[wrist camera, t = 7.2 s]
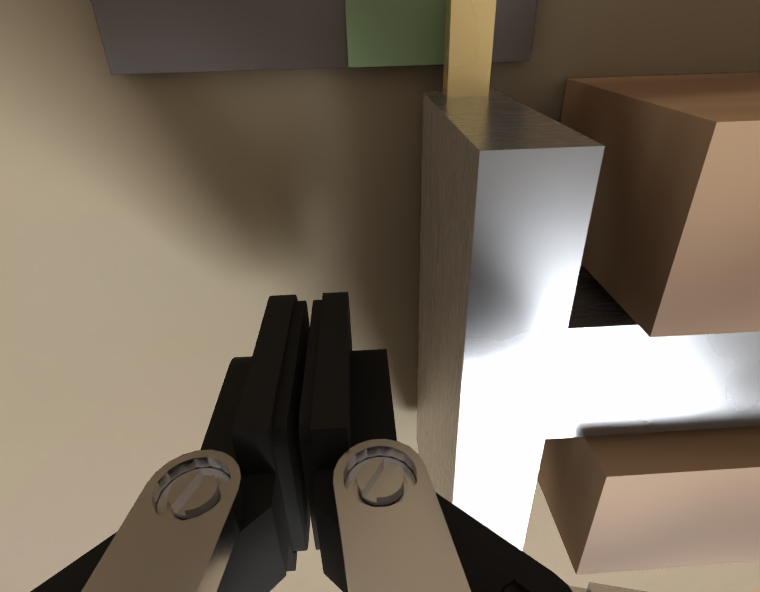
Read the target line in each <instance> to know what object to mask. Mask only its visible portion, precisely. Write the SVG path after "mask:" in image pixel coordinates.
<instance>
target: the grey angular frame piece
mask: <svg viewBox="0 0 760 592" xmlns="http://www.w3.org/2000/svg"><path fill="white" fill-rule="evenodd" d="M495 12H496V0H446V25H445V52H444V78H443V92H423V131H422V184H421V238H420V291H419V344H418V398H417V444H418V450H419V455H420V457H421V459H422V460H423V462H424V464H425V466H426V468H427V471H428V474H429V477H430V479H431V482H432V485H433V488H434V490H435V492H436V493H438V494H439V495H441V496H442V497H443V498H445V499H446V500H448V501H449V502H451V503H452V504H454V505H455V506H457V507H458V508H460V509H461V510H463V511H464V512H465V513H467V514H468V515H470V516H471V517H473V518H474V519H476V520H477V521H479V522H480V523H482V524H483V525H485V526H486V527H487V528H489V529H490V530H492V531H493V532H495V533H496V534H498V535H499V536H501V537H502V538H504V539H505V540H507V541H508V542H509V543H511V544H512V545H514V546H515V547H517V548H518V549H520V550H521V551H522V549H523V544H524V540H525V535H526V530H527V525H528V520H529V515H530V510H531V505H532V500H533V495H534V491H535V486H536V481H537V476H538V471H539V466H540V461H541V456H542V451H543V447H544V442H545V439H554V438H570V437H587V436H603V435H619V434H636V433H652V432H669V431H685V430H701V429H718V428H734V427H750V426H760V332H741V333H723V334H704V335H685V336H667V337H649V336H648V335H647V334H646V333H645V332H644V330H643V329H642V328H641V327H640V326H639V325H638V324H637V323H636V322H635V321H634V320H633V319H632V318H631V317H630V315H629V314H628V313H627V312H626V311H625V310H624V309H623V308H622V307H621V306H620V305H619V304H618V303H617V302H616V300H615V299H614V298H613V297H612V296H611V295H610V294H609V293H608V292H607V291H606V290H605V289H604V288H603V287H602V286H601V284H600V283H599V282H598V281H597V280H596V279H595V278H594V277H593V276H592V275H591V274H590V273H589V272H588V271H587V269H586V268H585V267H584V266H580V265H581V261H582V256H583V251H584V246H585V241H586V236H587V231H588V226H589V221H590V217H591V212H592V207H593V202H594V197H595V192H596V187H597V182H598V177H599V173H600V168H601V163H602V158H603V153H604V148H605V146H604V145H602V144H600V143H598V142H596V141H594V140H592V139H590V138H588V137H587V136H585V135H583V134H581V133H579V132H577V131H575V130H573V129H571V128H569V127H567V126H565V125H563V124H561V123H559V122H557V121H555V120H553V119H551V118H549V117H547V116H545V115H543V114H542V113H540V112H538V111H536V110H534V109H532V108H530V107H528V106H526V105H524V104H522V103H520V102H518V101H516V100H514V99H512V98H510V97H508V96H506V95H504V94H502V93H500V92H499V91H497V90H489V85H490V73H491V61H492V48H493V36H494V24H495Z"/></svg>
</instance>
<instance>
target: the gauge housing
mask: <svg viewBox="0 0 760 592" xmlns="http://www.w3.org/2000/svg"><path fill="white" fill-rule="evenodd" d="M91 3H92V6H93V10H94V13H95V17H96V21H97V24H98V28H99V32H100V35H101V39H102V42H103V46H104V50H105V53H106V57H107V60H108V64H109V68H110V71H111V75H118V74H149V73H180V72H211V71H242V70H272V69H303V68H334V67H379V66H410V65H441V64H444V52H445V25H446V0H91ZM536 7H537V0H496V12H495V24H494V36H493V48H492V61H491V62H519V61H530V58H531V49H532V41H533V33H534V24H535V16H536ZM560 123H561V124H563V125H565V126H567V127H569V128H571V129H573V130H575V131H577V132H579V133H581V134H583V135H585V136H587V137H588V138H590V139H592V140H594V141H596V142H598V143H600V144H602V145H604V146H605V148H604V153H603V158H602V163H601V168H600V173H599V177H598V182H597V187H596V192H595V197H594V202H593V207H592V212H591V217H590V221H589V226H588V231H587V236H586V241H585V246H584V251H583V256H582V261H581V264H582V265H583V266H584V267H585V268H586V269H587V271H588V272H589V273H590V274H591V275H592V276H593V277H594V278H595V279H596V280H597V281H598V282H599V283H600V284H601V286H602V287H603V288H604V289H605V290H606V291H607V292H608V293H609V294H610V295H611V296H612V297H613V298H614V299H615V300H616V302H617V303H618V304H619V305H620V306H621V307H622V308H623V309H624V310H625V311H626V312H627V313H628V314H629V315H630V317H631V318H632V319H633V320H634V321H635V322H636V323H637V324H638V325H639V326H640V327H641V328H642V329H643V330H644V332H645V333H646V334H647V335H648V336H649V337H667V336H685V335H704V334H723V333H741V332H760V72H742V73H713V74H683V75H654V76H624V77H595V78H567V81H566V88H565V94H564V101H563V107H562V113H561V120H560ZM537 479H538V482H539V484H540V487H541V489H542V492H543V494H544V496H545V499H546V501H547V504H548V506H549V509H550V511H551V514H552V516H553V519H554V521H555V524H556V526H557V528H558V531H559V533H560V536H561V538H562V541H563V543H564V546H565V548H566V551H567V553H568V555H569V558H570V560H571V563H572V565H573V568H574V570H575V573H576V575H579V574H593V573H607V572H621V571H635V570H649V569H663V568H677V567H691V566H705V565H719V564H733V563H747V562H760V426H750V427H734V428H718V429H701V430H685V431H669V432H652V433H636V434H619V435H603V436H587V437H570V438H554V439H545V442H544V447H543V451H542V456H541V461H540V466H539V471H538V476H537Z"/></svg>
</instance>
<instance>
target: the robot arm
mask: <svg viewBox="0 0 760 592" xmlns="http://www.w3.org/2000/svg"><path fill="white" fill-rule="evenodd" d="M310 515H311V522H312V528H313V535H314V541H315V547H316V550H319V549H320V551H321V558H322V565H323V571H324V574H325V575H326V576H327V577H328V578H329V579H330V580H331V581H332V582H334V583H335V584H336V585H337V586H338V587H339V588H340V589H341V590H342V591H343V592H646V591H640V590H634V589H628V588H622V587H616V586H609V585H603V584H597V583H591V582H589V585H588V588H587V589H585V588H579V587H573V586H568V585H567V584H566V583H565V582H564V581H563V580H562V579H560V578H559V577H558V576H557V575H556V574H555V573H553V572H552V571H551V570H549V569H548V568H546V567H545V566H543V565H542V564H540V563H539V562H537V561H536V560H534V559H533V558H531V557H530V556H529V555H527V554H526V553H524V552H523V551H521V550H520V549H518V548H517V547H515V546H514V545H512V544H511V543H509V542H508V541H507V540H505V539H504V538H502V537H501V536H499V535H498V534H496V533H495V532H493V531H492V530H490V529H489V528H487V527H486V526H485V525H483V524H482V523H480V522H479V521H477V520H476V519H474V518H473V517H471V516H470V515H468V514H467V513H465V512H464V511H463V510H461V509H460V508H458V507H457V506H455V505H454V504H452V503H451V502H449V501H448V500H446V499H445V498H443V497H442V496H441V495H439V494H438V493H436V492H435V490H434V488H433V485H432V482H431V479H430V477H429V474H428V471H427V468H426V466H425V464H424V462H423V460H422V459H421V457H420V455H419V454H418V453H416V452H415V451H414V450H413V449H412V448H411V447H409V446H407V445H405V444H403V443H401V442H399V441H397V438H396V429H395V420H394V411H393V402H392V394H391V385H390V376H389V367H388V359H387V351H386V349H378V350H360V351H352V339H351V324H350V310H349V296H348V292H337V293H323V297H322V300H313V306H312V315H311V323H310V325H309V317H308V309H307V303H306V301H298V300H297V296H296V295H279V296H270V297H269V299H268V303H267V306H266V310H265V313H264V317H263V321H262V324H261V328H260V331H259V335H258V338H257V342H256V346H255V349H254V353H253V356H252V357H235V358H233V359H232V360H231V362H230V365H229V368H228V371H227V373H226V376H225V379H224V382H223V385H222V388H221V391H220V394H219V397H218V400H217V403H216V406H215V409H214V412H213V415H212V418H211V421H210V424H209V427H208V429H207V432H206V435H205V438H204V441H203V444H202V447H201V450H198V451H193V452H190V453H187V454H183V455H181V456H179V457H177V458H175V459H173V460H171V461H169V462H168V463H166V464H165V465H164V466H163V467H161V468H160V469H159V470H158V471H156V472H155V474H154V475H153V476H152V477H151V479H150V480H149V481H148V482H147V484H146V485H145V487H144V489H143V490H142V492H141V494H140V495H139V497H138V499H137V500H136V502H135V504H134V505H133V507H132V508H131V510H130V512H129V513H128V515H127V517H126V518H125V520H124V522H123V523H122V525H121V527H120V528H119V530H118V531H117V532H116V533H115V534H113V535H112V536H110V537H109V538H107V539H106V540H104V541H103V542H102V543H100V544H99V545H97V546H96V547H94V548H93V549H92V550H90V551H89V552H87V553H86V554H84V555H83V556H81V557H80V558H79V559H77V560H76V561H74V562H73V563H71V564H70V565H68V566H67V567H66V568H64V569H63V570H61V571H60V572H58V573H57V574H55V575H54V576H53V577H51V578H50V579H48V580H47V581H45V582H44V583H42V584H41V585H40V586H38V587H37V588H35V589H34V590H32V591H31V592H270V591H271V590H272V589H273V588H274V587H275V586H276V585H277V584H278V583H279V582H280V581H281V580H282V579H283V578H284V577H285V576H286V571H295V570H296V560H297V551H305V550H307V549H308V542H309V528H310Z"/></svg>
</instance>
